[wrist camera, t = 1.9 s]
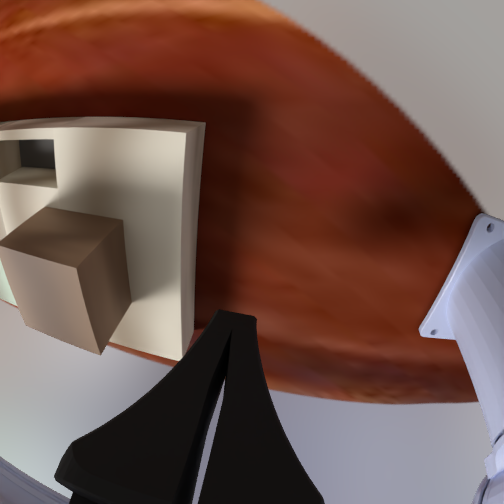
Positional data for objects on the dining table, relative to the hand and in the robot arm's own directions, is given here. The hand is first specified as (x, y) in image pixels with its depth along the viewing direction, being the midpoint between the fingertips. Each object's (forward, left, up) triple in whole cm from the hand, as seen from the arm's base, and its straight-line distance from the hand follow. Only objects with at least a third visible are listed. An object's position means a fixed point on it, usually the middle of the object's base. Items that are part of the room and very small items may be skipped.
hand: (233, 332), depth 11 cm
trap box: (+12, 0, -5) cm, 13 cm away
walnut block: (+7, 0, -3) cm, 8 cm away
